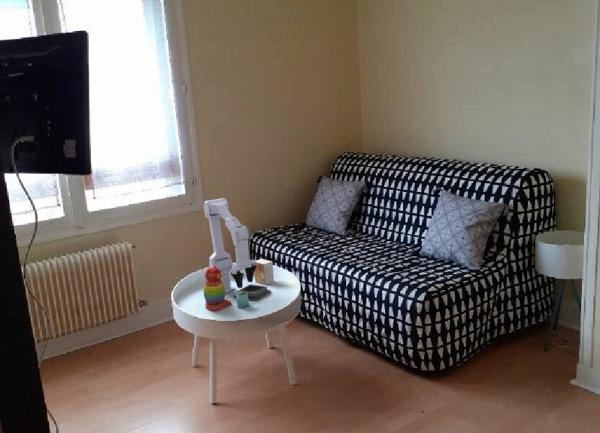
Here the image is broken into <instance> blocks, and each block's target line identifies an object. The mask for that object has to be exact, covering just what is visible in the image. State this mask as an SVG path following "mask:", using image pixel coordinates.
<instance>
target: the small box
mask: <svg viewBox="0 0 600 433" xmlns="http://www.w3.org/2000/svg"><path fill="white" fill-rule="evenodd" d="M254 265H256V269H255V272H254V281H255V283H258V284H262V285H263V286H266V285H269V284H272V283H275V281H274V280H275V279H274V275H275V274H274V262H273V261H272V260H266V259H264V258H260V259H257V260H255V264H254Z"/></svg>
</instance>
